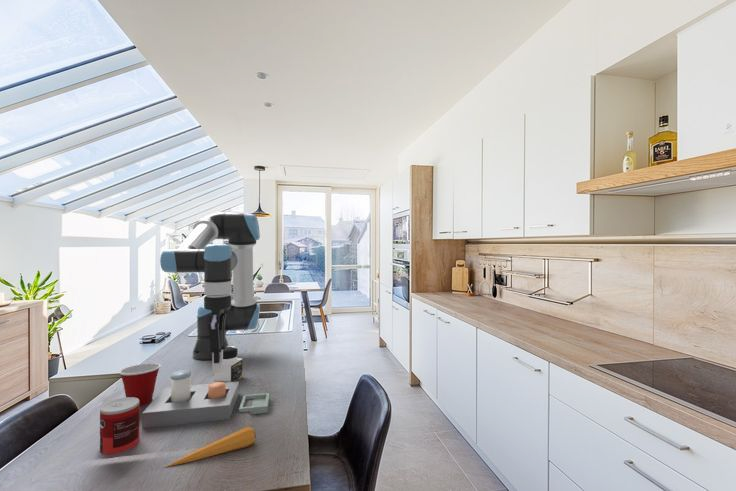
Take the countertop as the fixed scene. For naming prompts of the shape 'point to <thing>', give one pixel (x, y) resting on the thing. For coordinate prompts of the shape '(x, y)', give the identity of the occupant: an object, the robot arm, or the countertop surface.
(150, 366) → the plastic cup
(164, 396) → the housing
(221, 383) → the plunger
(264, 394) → the tray
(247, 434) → the carrot
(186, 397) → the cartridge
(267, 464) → the countertop surface
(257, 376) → the countertop surface
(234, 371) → the medicine bottle
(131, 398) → the canned food
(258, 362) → the countertop surface
